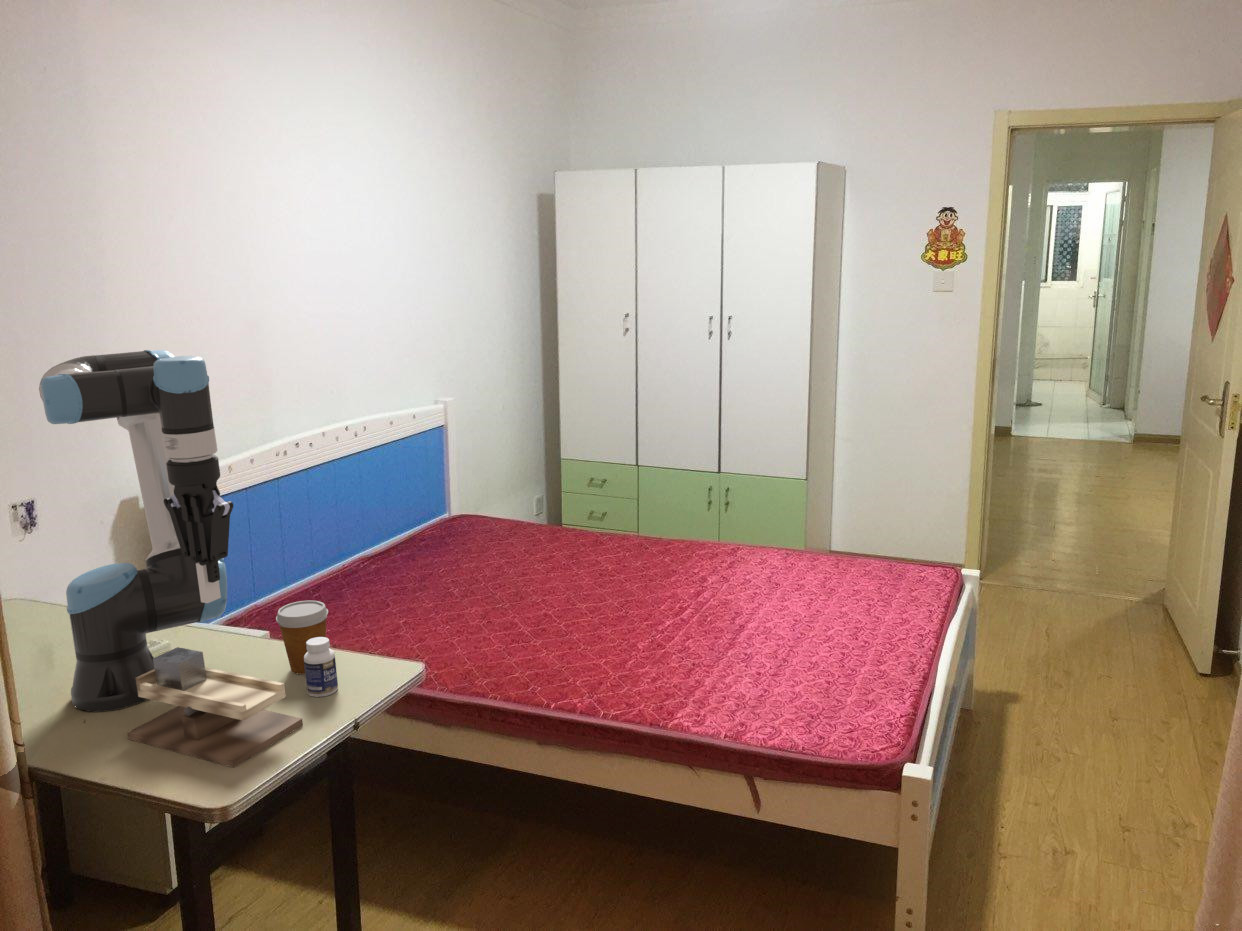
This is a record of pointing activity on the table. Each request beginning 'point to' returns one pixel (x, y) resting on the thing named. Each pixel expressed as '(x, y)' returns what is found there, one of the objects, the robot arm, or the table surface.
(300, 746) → the table surface
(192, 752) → the stand
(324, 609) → the disposable coffee cup
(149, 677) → the balance beam
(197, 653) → the block
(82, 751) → the table surface
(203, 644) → the table surface
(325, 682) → the pill bottle
